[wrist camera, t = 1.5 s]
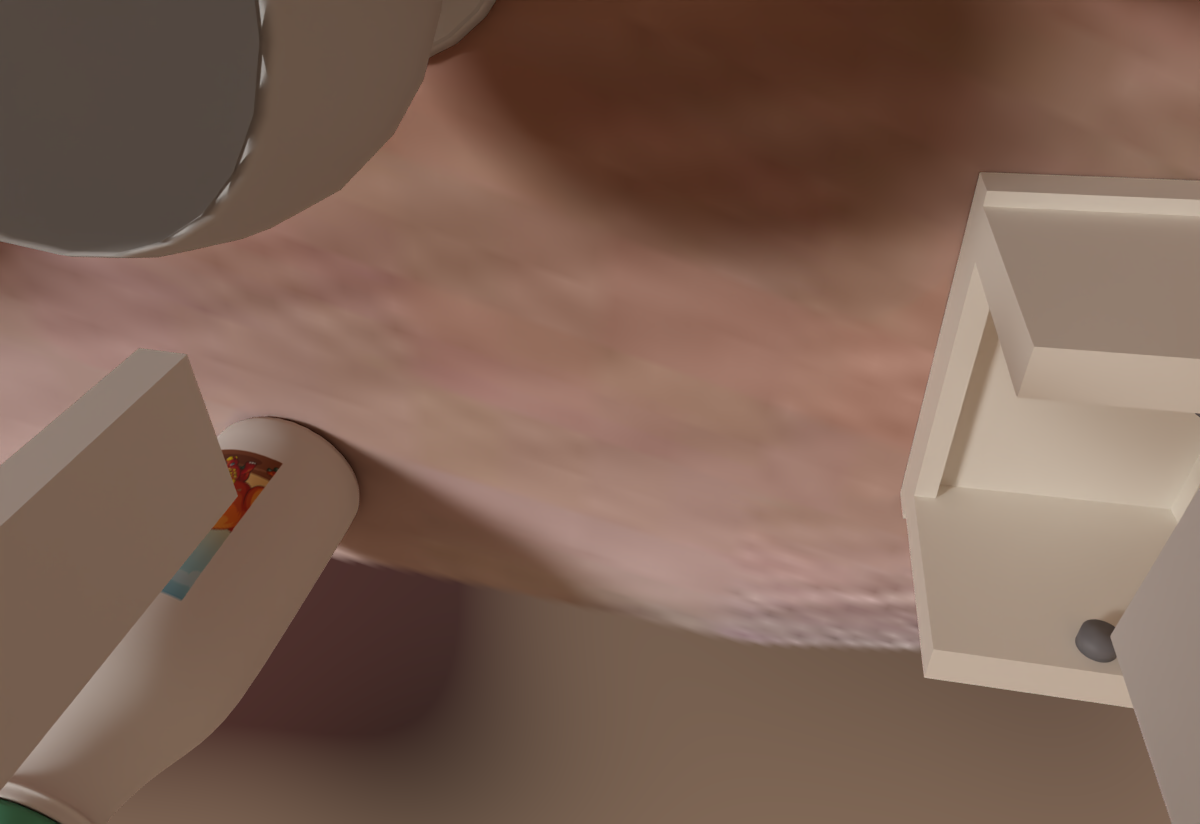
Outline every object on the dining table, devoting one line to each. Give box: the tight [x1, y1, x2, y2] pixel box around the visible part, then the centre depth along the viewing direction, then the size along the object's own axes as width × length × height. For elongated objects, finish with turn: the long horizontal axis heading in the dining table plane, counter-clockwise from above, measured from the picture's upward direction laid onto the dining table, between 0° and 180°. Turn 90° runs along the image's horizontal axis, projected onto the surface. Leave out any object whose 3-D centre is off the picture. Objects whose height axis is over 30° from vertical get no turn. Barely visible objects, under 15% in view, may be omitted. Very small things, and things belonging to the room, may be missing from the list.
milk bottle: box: [0, 417, 359, 824], centre depth 35 cm, size 8×8×20 cm
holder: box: [900, 172, 1200, 708], centre depth 26 cm, size 14×10×10 cm
